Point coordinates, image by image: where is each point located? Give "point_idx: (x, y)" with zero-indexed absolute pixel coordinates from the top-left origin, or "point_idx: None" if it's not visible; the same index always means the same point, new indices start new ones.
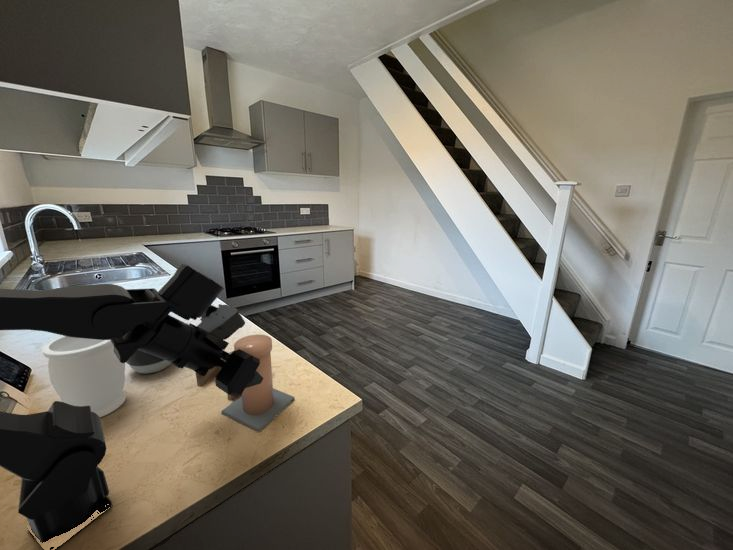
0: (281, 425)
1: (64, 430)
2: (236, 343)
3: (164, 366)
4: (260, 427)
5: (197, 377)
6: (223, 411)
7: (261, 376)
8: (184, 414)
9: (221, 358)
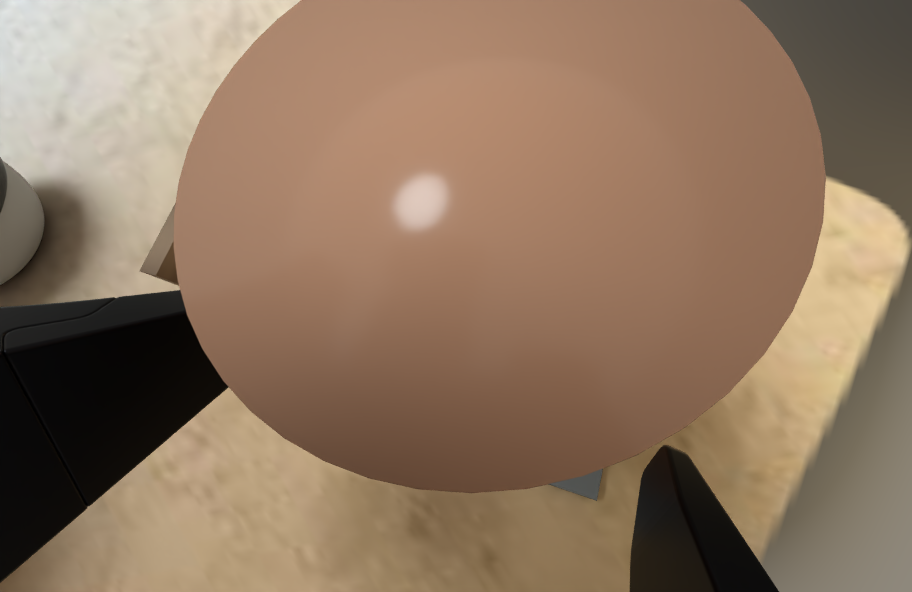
0: (670, 438)
1: None
2: (201, 240)
3: (25, 248)
4: (597, 486)
5: (173, 283)
6: None
7: (717, 502)
8: (237, 456)
9: (185, 356)
